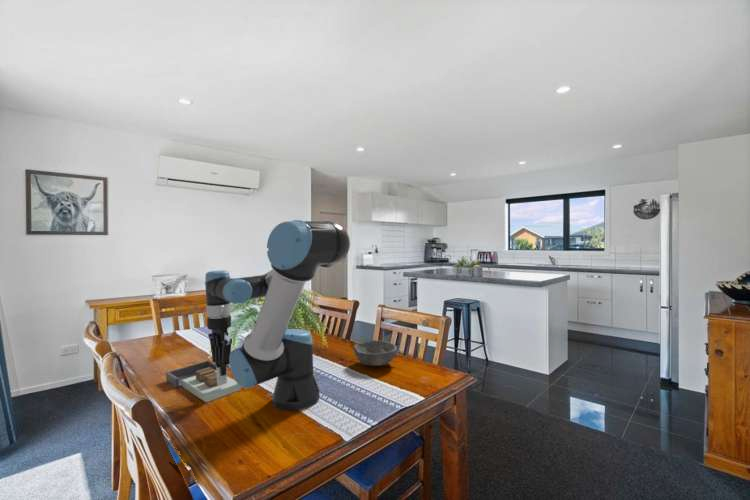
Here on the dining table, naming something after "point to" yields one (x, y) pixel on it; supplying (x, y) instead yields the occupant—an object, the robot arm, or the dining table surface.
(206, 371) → the tile
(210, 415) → the dining table surface
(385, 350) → the bowl
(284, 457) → the dining table surface
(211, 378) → the tile
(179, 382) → the tray
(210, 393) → the board
